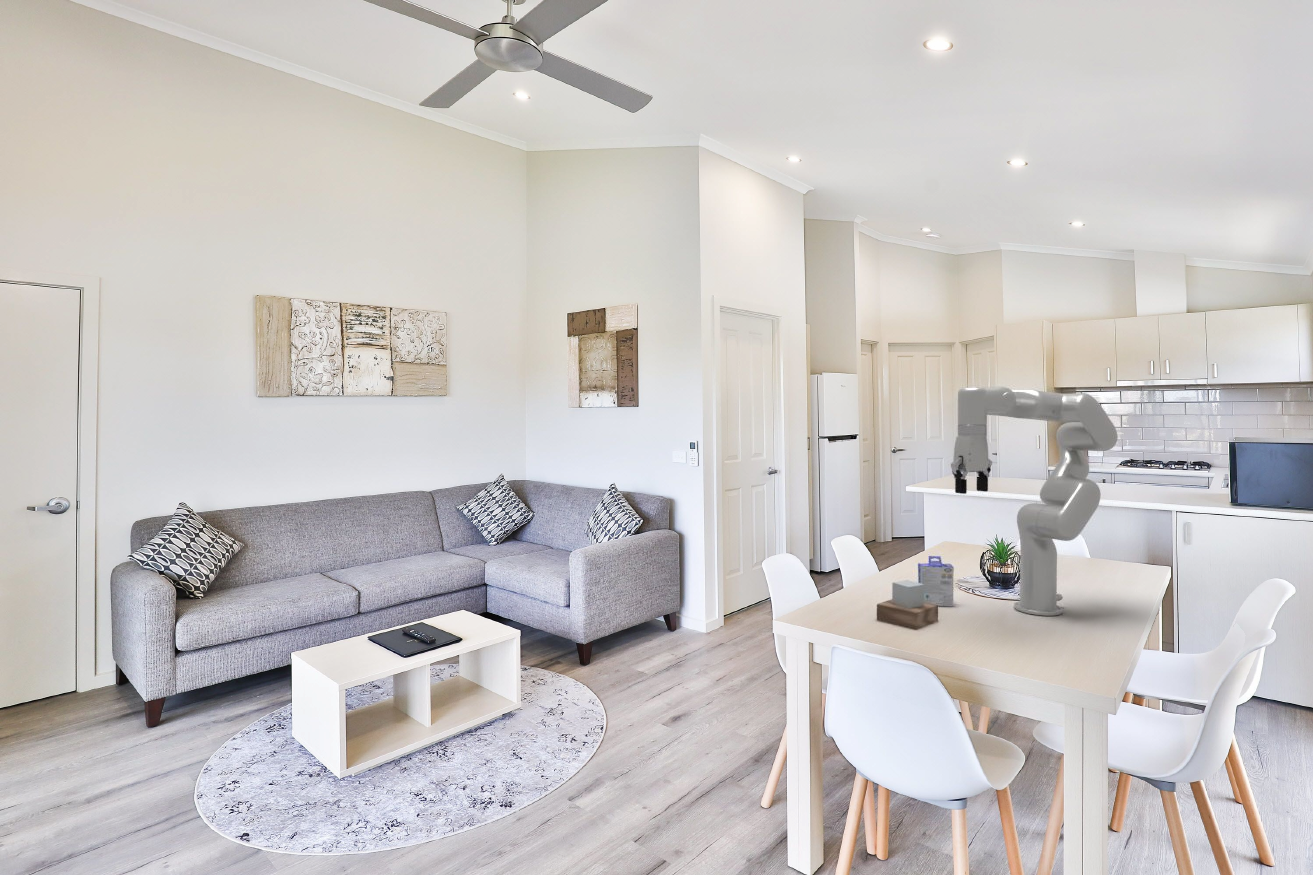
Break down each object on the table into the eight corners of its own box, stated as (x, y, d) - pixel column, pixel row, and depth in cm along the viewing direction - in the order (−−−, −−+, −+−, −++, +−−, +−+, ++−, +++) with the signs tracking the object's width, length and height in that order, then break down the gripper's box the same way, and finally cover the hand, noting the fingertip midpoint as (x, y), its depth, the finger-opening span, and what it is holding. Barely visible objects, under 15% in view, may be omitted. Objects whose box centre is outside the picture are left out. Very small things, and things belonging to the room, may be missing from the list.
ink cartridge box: (950, 602, 217) (951, 555, 217) (954, 607, 212) (954, 559, 211) (917, 600, 219) (917, 554, 219) (920, 605, 214) (920, 558, 213)
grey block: (907, 600, 203) (908, 580, 202) (924, 605, 197) (924, 584, 197) (892, 603, 200) (892, 582, 200) (908, 608, 195) (908, 587, 194)
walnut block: (899, 613, 207) (899, 596, 207) (938, 622, 198) (938, 604, 198) (876, 621, 199) (876, 604, 199) (916, 631, 190) (916, 613, 190)
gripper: (978, 430, 205) (978, 489, 205) (940, 431, 196) (940, 493, 196) (1002, 431, 198) (1002, 491, 199) (965, 432, 189) (964, 495, 190)
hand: (971, 492), depth 198 cm, fingers open, 9 cm apart
